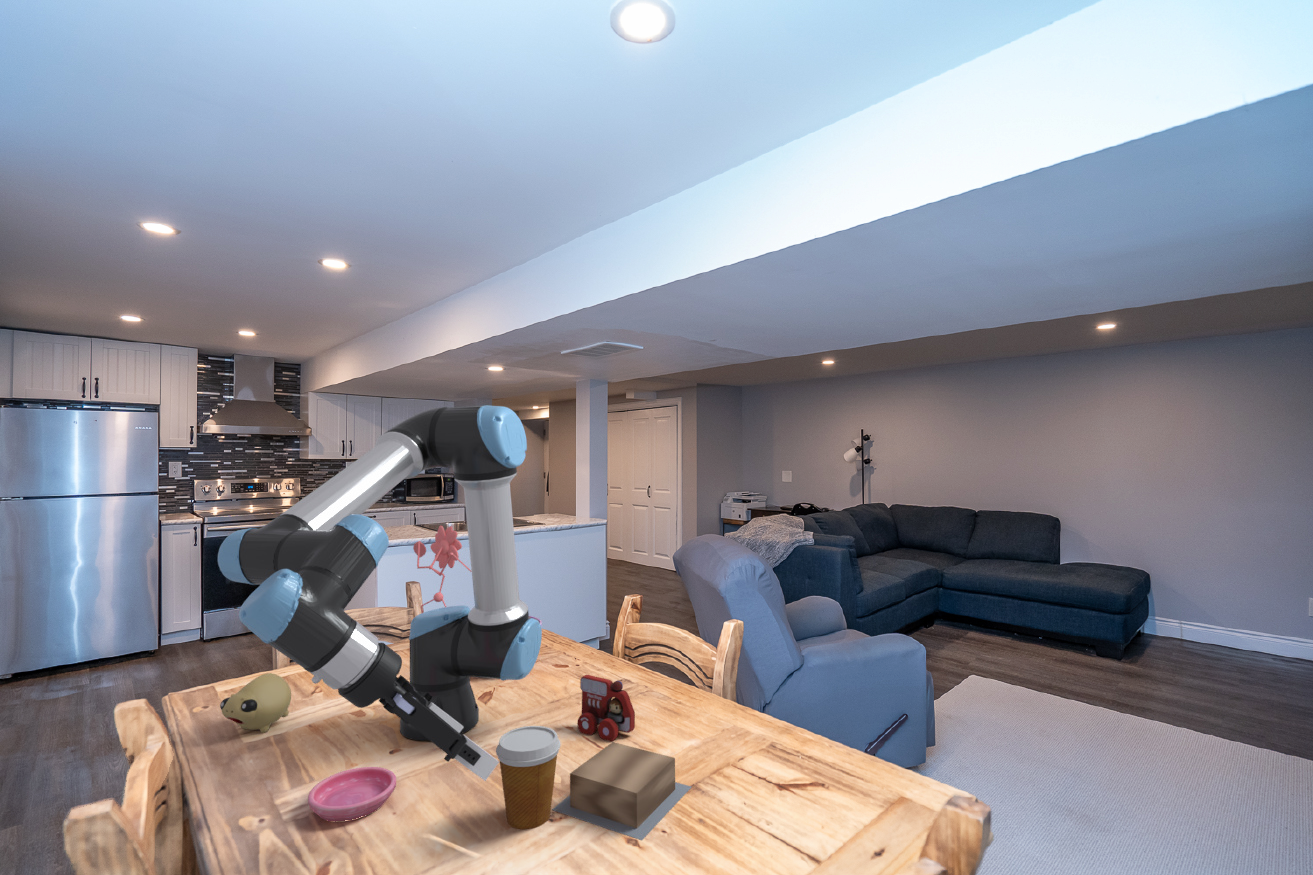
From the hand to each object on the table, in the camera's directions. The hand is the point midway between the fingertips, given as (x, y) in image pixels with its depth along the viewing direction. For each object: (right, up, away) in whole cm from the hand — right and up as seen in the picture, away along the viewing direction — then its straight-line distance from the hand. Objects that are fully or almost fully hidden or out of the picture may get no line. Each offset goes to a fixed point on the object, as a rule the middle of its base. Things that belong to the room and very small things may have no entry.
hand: (473, 751), depth 88 cm
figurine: (-35, -16, +91) cm, 99 cm away
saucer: (-22, -14, +10) cm, 27 cm away
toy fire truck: (+16, -14, +34) cm, 40 cm away
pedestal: (+21, -12, +10) cm, 26 cm away
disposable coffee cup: (+7, -13, +5) cm, 15 cm away
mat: (+21, -13, +10) cm, 26 cm away
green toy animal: (-54, -15, +37) cm, 67 cm away
